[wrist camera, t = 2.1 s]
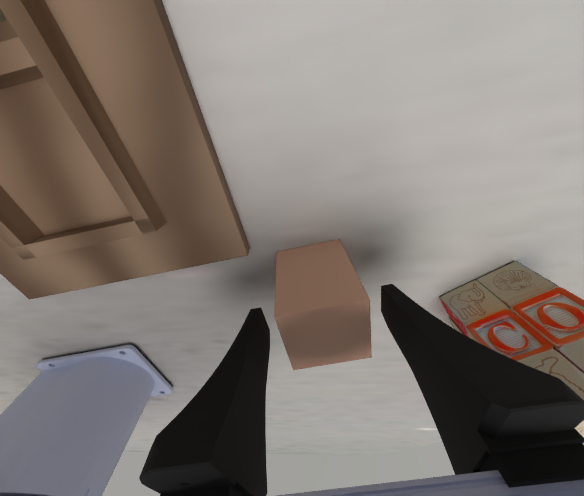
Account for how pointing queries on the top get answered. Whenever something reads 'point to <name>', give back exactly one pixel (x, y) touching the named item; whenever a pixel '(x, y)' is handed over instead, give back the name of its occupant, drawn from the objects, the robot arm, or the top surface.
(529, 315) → the stack of blocks
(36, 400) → the robot arm
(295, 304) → the terracotta block
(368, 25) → the top surface
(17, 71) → the walnut base
